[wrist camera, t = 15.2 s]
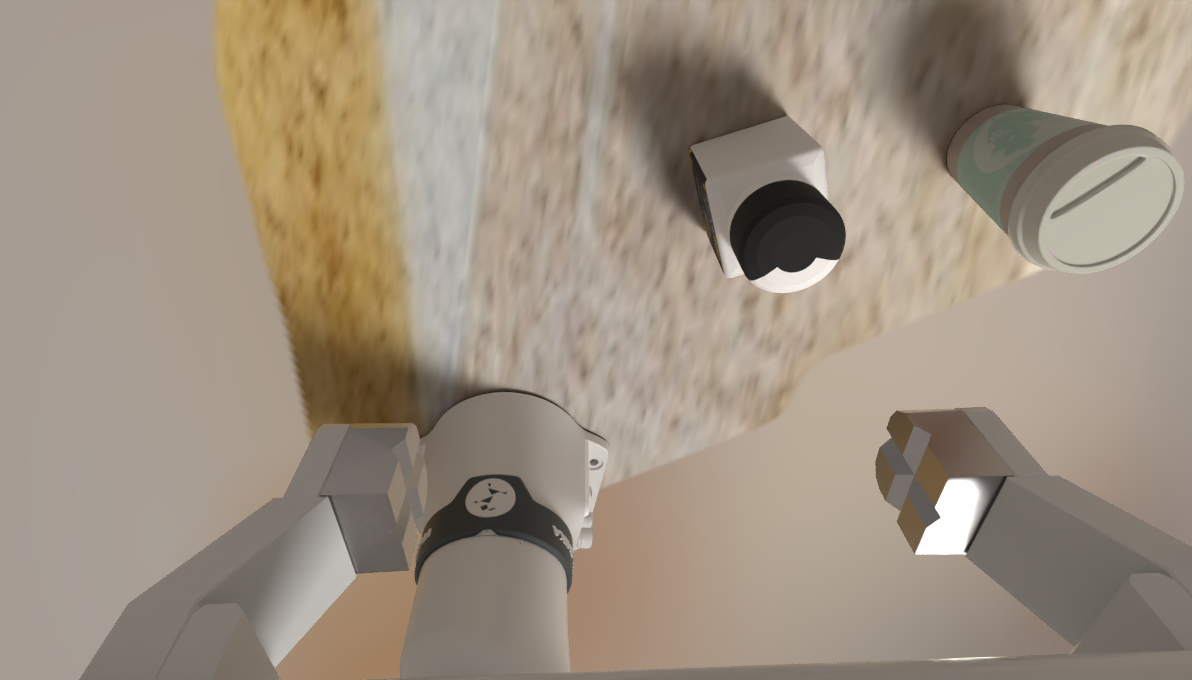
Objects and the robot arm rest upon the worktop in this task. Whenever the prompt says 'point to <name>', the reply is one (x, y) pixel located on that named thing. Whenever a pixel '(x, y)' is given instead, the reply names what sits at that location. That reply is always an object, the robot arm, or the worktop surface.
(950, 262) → the worktop surface
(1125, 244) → the coffee cup
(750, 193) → the medicine bottle
